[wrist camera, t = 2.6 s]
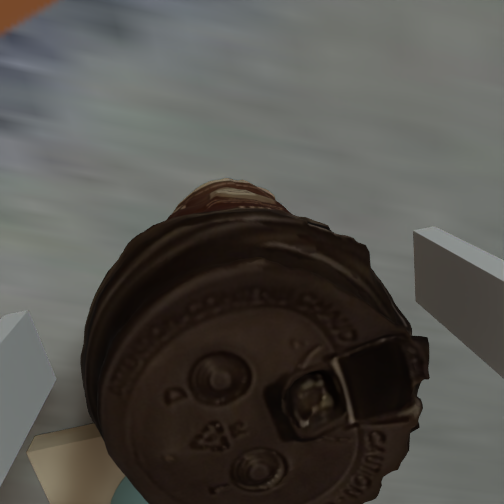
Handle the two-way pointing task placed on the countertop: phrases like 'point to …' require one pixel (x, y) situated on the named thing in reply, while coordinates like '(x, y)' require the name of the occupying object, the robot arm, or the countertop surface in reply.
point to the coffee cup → (250, 358)
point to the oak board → (79, 469)
